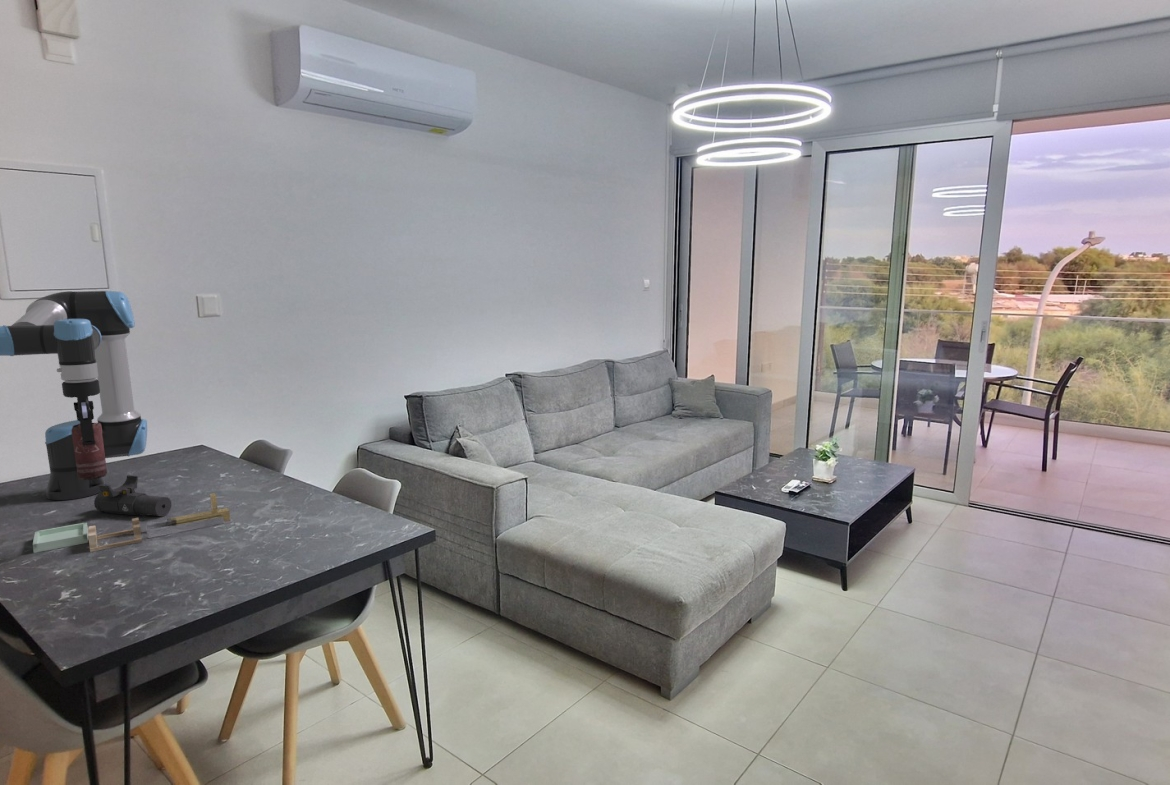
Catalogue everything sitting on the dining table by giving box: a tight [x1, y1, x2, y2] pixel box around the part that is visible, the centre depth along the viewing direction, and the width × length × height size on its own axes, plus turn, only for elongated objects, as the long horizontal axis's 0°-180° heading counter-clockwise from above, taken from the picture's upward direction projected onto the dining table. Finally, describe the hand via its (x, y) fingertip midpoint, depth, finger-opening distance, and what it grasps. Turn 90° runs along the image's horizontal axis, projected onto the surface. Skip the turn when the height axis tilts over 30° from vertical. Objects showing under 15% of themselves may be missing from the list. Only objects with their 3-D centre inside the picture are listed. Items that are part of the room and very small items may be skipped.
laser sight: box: [93, 474, 173, 517], centre depth 192 cm, size 10×22×10 cm, turn 78°
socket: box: [88, 517, 143, 553], centre depth 172 cm, size 10×11×4 cm
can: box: [71, 422, 108, 480], centre depth 169 cm, size 6×6×14 cm
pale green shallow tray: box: [32, 521, 89, 554], centre depth 173 cm, size 11×11×2 cm
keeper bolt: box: [166, 492, 231, 526], centre depth 184 cm, size 3×15×8 cm, turn 127°
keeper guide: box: [145, 516, 225, 539], centre depth 182 cm, size 6×18×2 cm, turn 127°
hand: (92, 468), depth 170 cm, fingers closed
